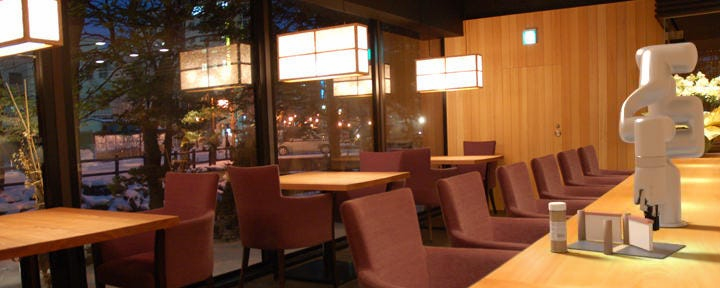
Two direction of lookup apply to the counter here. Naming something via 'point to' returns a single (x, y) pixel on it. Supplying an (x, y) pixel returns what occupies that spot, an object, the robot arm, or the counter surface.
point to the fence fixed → (603, 228)
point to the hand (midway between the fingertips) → (652, 230)
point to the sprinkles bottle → (558, 227)
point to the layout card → (627, 248)
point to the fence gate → (640, 232)
